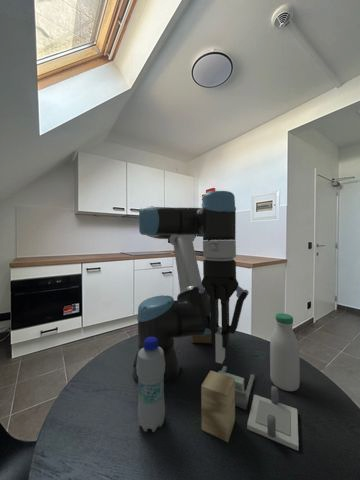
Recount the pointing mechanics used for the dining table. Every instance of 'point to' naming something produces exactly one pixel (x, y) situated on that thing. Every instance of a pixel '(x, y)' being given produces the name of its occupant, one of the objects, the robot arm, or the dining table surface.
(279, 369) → the milk bottle
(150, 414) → the bottle
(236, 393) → the housing frame
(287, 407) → the seat plate
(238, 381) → the cover
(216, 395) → the block
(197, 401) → the dining table surface
